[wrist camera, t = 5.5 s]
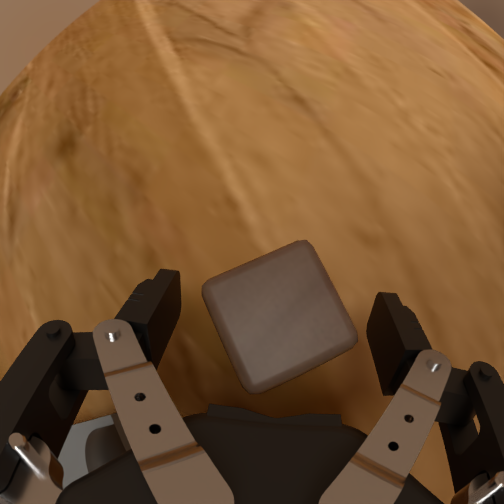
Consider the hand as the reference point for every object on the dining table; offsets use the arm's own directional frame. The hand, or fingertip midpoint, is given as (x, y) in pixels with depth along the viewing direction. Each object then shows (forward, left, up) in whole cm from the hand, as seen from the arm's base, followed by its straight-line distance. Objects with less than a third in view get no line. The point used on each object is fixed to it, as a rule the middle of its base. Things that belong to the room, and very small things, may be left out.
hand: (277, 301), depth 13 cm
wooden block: (+1, 0, -5) cm, 5 cm away
